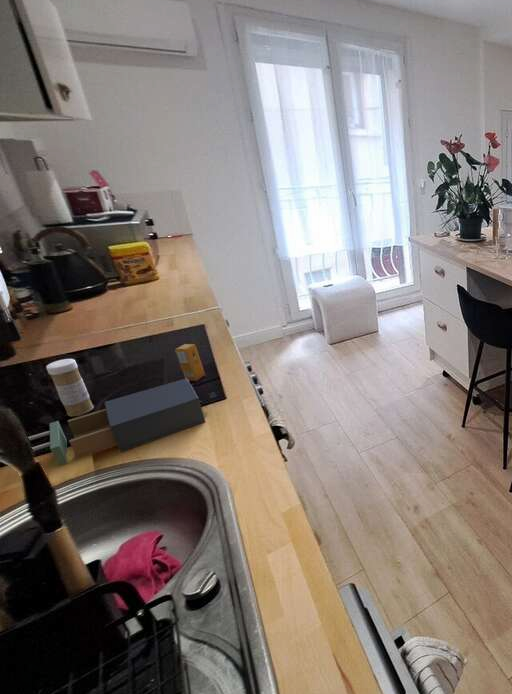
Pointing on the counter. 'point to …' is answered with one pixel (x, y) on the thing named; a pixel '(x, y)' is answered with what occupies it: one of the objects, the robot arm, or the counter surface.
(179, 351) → the supplement box
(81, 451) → the drawer
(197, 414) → the cabinet
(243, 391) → the counter surface
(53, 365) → the sprinkles bottle
